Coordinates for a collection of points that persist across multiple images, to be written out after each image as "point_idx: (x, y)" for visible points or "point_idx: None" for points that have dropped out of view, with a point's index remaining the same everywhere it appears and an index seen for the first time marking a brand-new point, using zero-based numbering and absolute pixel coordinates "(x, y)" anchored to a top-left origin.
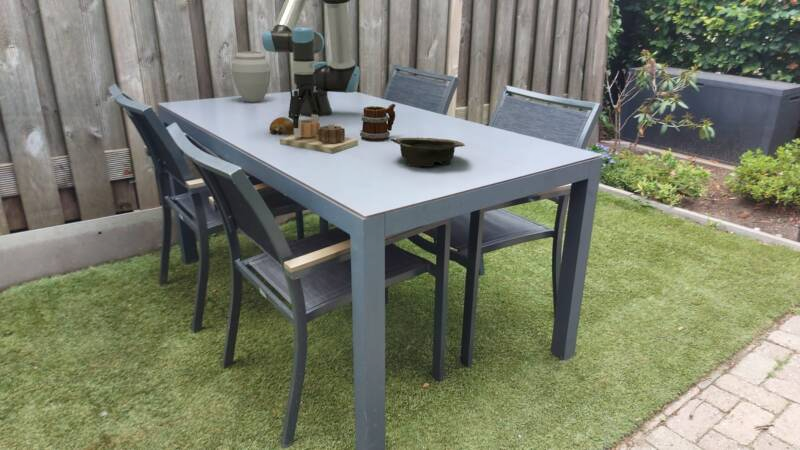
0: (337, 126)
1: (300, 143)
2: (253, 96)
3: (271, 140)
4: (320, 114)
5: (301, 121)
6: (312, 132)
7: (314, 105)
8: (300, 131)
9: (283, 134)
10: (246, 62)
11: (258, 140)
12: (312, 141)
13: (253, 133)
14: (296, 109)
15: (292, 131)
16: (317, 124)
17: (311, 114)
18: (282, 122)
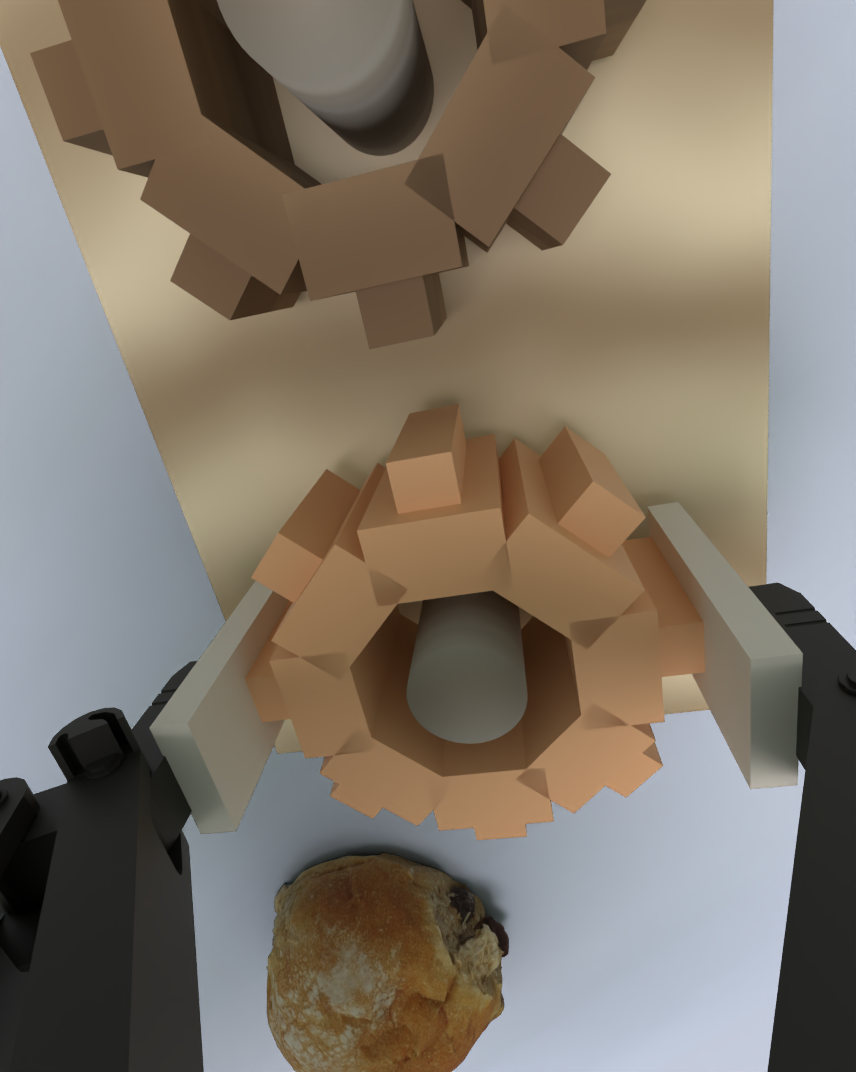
0: (113, 5)
1: (762, 383)
2: None
3: (675, 807)
4: (100, 711)
5: (489, 765)
6: (495, 454)
7: (134, 944)
8: (690, 538)
9: (441, 873)
10: None
11: (753, 872)
12: (610, 303)
13: (588, 1021)
14: None
15: (347, 868)
16: (391, 460)
17: (234, 829)
18: (408, 1008)
